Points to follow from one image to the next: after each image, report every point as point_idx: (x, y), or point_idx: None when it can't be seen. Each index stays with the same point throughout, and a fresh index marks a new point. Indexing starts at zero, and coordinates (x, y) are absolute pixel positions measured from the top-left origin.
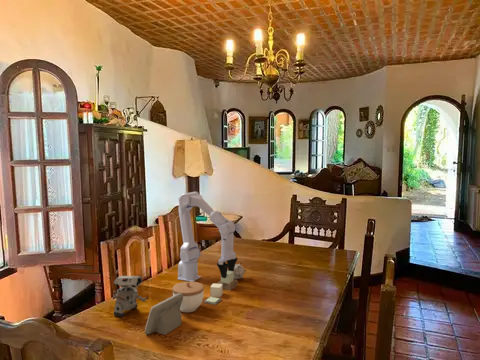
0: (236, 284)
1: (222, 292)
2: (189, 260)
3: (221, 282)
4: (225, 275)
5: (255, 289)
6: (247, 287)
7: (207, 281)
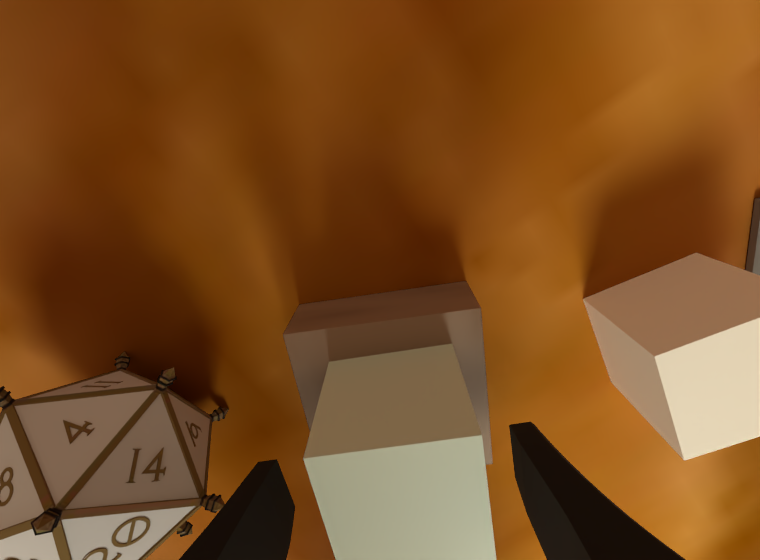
0: (316, 309)
1: (594, 302)
2: None
3: None
4: (558, 454)
5: (246, 32)
6: (266, 171)
7: None
